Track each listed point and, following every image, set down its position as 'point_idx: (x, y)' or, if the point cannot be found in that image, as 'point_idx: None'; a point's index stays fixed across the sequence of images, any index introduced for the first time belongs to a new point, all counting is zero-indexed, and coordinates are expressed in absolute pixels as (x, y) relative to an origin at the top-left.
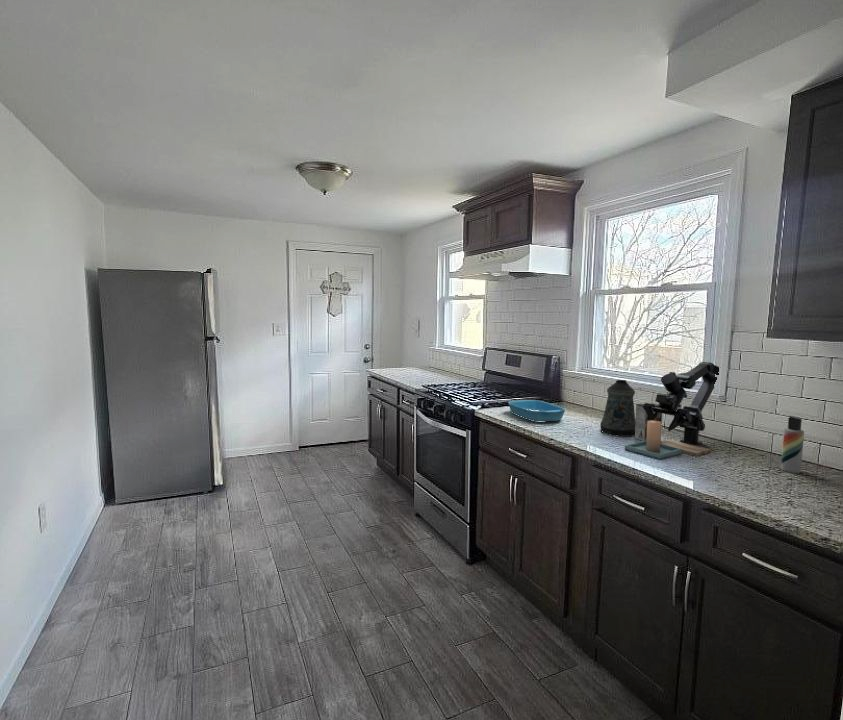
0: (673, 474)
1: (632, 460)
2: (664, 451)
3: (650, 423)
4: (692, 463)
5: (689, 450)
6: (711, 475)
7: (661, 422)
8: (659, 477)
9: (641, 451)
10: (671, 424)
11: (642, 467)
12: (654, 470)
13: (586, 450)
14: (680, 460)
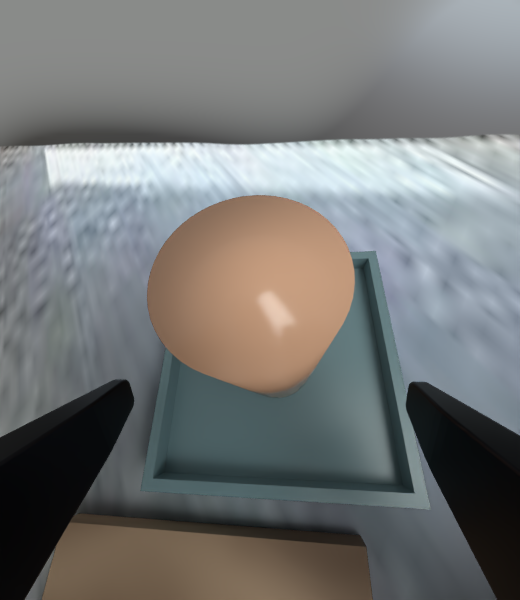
0: (101, 186)
1: (248, 187)
2: (226, 398)
3: (255, 206)
4: (74, 344)
5: (111, 562)
6: (5, 267)
7: (154, 324)
8: (123, 144)
9: None
10: (32, 429)
11: (189, 164)
12: (153, 171)
13: (424, 142)
14: (125, 340)
